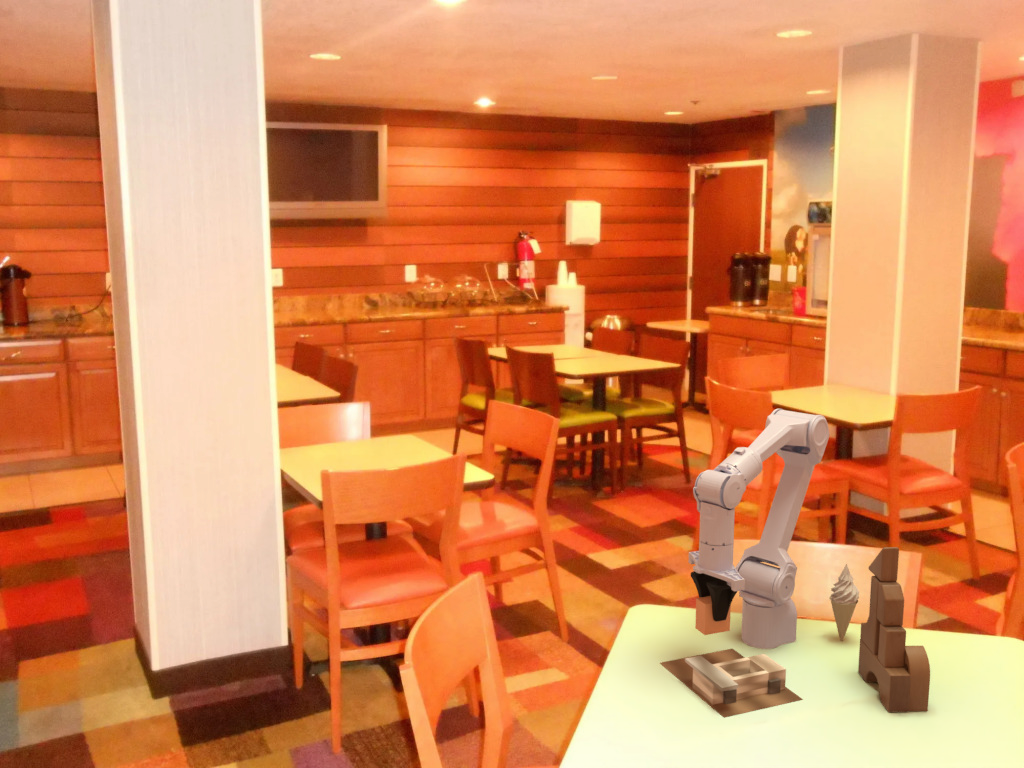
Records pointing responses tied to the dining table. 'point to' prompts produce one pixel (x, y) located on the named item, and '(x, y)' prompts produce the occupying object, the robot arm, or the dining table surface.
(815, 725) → the dining table surface
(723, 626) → the orange upright block
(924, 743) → the dining table surface
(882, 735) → the dining table surface
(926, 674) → the wooden toy
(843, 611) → the ice cream cone
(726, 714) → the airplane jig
